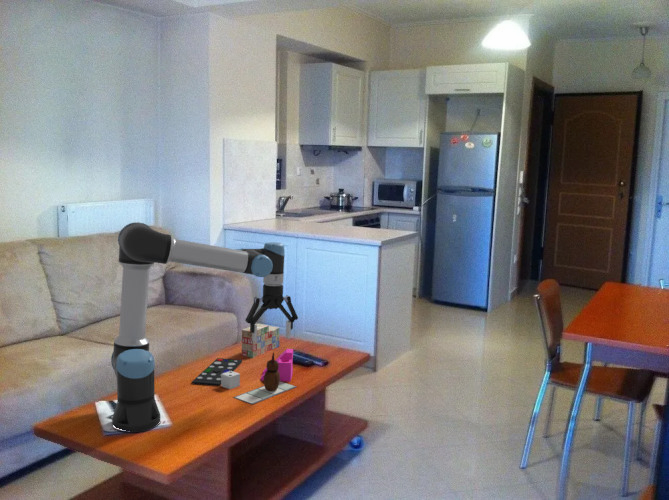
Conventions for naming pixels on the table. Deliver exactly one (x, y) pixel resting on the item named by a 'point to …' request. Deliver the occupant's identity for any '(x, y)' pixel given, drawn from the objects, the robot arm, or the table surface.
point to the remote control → (216, 371)
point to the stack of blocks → (260, 340)
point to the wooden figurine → (272, 375)
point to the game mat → (263, 393)
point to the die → (230, 379)
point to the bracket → (284, 365)
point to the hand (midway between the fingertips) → (271, 339)
